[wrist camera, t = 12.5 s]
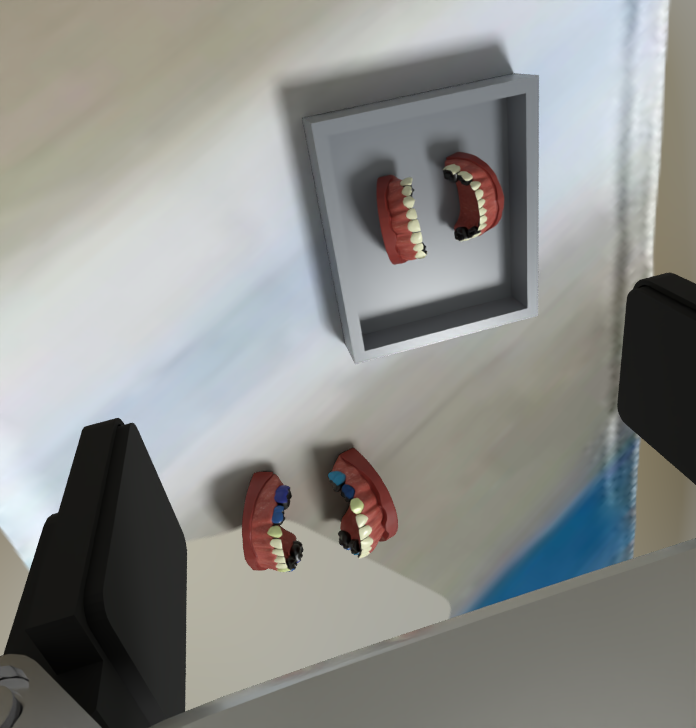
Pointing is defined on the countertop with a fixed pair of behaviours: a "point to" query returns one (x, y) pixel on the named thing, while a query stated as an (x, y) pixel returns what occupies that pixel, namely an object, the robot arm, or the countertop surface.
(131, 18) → the countertop surface
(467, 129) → the tray
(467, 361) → the countertop surface
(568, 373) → the countertop surface
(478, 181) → the denture
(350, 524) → the teeth model
